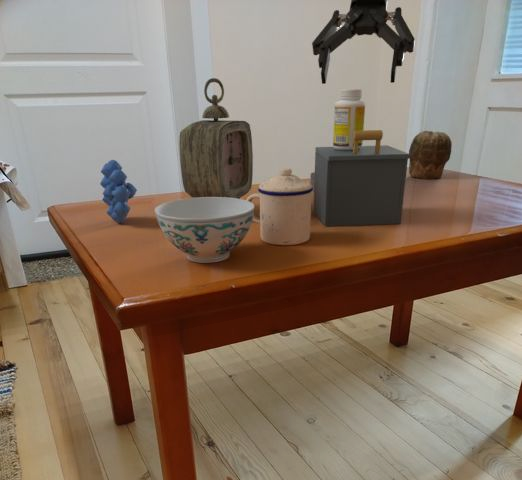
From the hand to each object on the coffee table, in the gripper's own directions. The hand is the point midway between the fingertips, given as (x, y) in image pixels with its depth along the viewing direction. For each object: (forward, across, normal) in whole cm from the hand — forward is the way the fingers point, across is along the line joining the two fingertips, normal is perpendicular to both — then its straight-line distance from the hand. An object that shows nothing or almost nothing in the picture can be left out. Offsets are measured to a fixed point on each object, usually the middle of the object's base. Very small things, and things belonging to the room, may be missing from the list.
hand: (357, 77), depth 100 cm
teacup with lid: (+38, -9, -3) cm, 39 cm away
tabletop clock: (+28, -25, +8) cm, 38 cm away
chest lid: (+17, +3, +1) cm, 18 cm away
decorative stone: (+8, -4, +27) cm, 28 cm away
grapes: (+35, -42, 0) cm, 54 cm away
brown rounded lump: (-10, +17, +46) cm, 50 cm away
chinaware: (+47, -17, -12) cm, 52 cm away
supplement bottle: (+16, 0, +1) cm, 16 cm away
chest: (+26, +2, +9) cm, 27 cm away
